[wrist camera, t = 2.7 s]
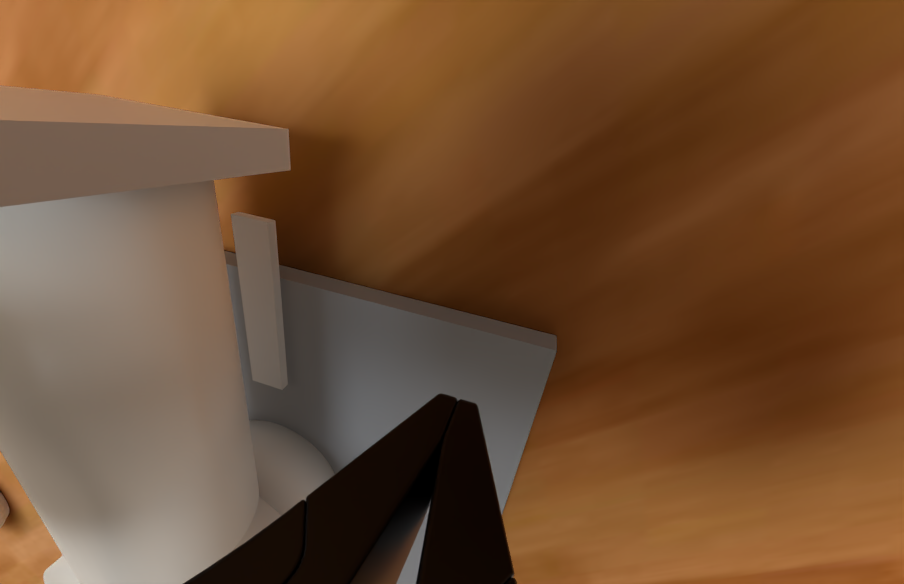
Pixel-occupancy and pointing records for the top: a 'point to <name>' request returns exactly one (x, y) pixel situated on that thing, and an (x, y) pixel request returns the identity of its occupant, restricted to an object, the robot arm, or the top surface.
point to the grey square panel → (365, 371)
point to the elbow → (125, 332)
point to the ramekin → (3, 510)
